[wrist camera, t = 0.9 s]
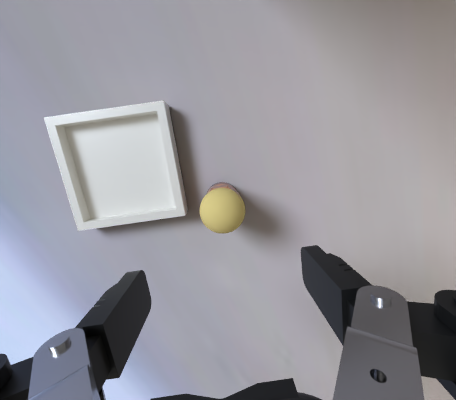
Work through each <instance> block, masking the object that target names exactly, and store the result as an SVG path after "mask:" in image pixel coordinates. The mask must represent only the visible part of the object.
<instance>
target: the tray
mask: <svg viewBox="0 0 456 400" xmlns="http://www.w3.org/2000/svg"><path fill="white" fill-rule="evenodd" d="M44 120H45V123H46V126H47V130H48V133H49V136H50V140H51V143H52V146H53V150H54V153H55V156H56V159H57V163H58V166H59V169H60V173H61V176H62V179H63V183H64V186H65V189H66V192H67V196H68V199H69V202H70V206H71V209H72V212H73V216H74V219H75V222H76V225H77V229H78V231H82V230H89V229H95V228H102V227H109V226H116V225H123V224H130V223H137V222H144V221H151V220H158V219H165V218H172V217H179V216H185V215H186V213H187V212H188V207H187V202H186V196H185V191H184V185H183V180H182V175H181V169H180V164H179V158H178V153H177V148H176V142H175V137H174V132H173V126H172V121H171V115H170V110H169V105H168V104H167V103H166V102H165V101H164V100H163V101H156V102H149V103H142V104H135V105H128V106H121V107H114V108H107V109H100V110H94V111H87V112H80V113H73V114H66V115H59V116H52V117H45V118H44Z"/></svg>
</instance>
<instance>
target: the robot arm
mask: <svg viewBox="0 0 456 400" xmlns="http://www.w3.org/2000/svg"><path fill="white" fill-rule="evenodd" d="M301 261H302V274H303V280H304V284H305V286H306V288H307V290H308V292H309V293H310V295H311V296H312V298H313V299H314V301H315V303H316V304H317V306H318V307H319V309H320V310H321V312H322V314H323V315H324V317H325V318H326V320H327V321H328V323H329V325H330V326H331V328H332V329H333V331H334V332H335V334H336V335H337V337H338V339H339V340H340V342H341V343H342V345H343V350H342V355H341V360H340V365H339V371H338V376H337V381H336V386H335V391H334V396H333V400H424V394H423V387H422V380H421V376H425V377H431V378H436V379H437V380H438V381H439V382H440V383H441V384H442V385H443V386H444V388H445V389H446V390H447V391H448V392H449V393H450V394H451V395H452V397H453V398H454V399H455V400H456V290H442V291H439V292H437V293H436V294H435V299H434V304H430V303H417V302H407V301H406V299H405V298H404V297H403V296H402V295H400V294H399V293H397V292H395V291H394V290H391V289H389V288H386V287H382V286H374V285H371V284H370V283H369V282H368V281H367V280H365V279H364V278H363V277H362V276H361V275H360V274H359V273H357V272H356V271H355V270H353V268H352V267H350V266H349V265H347V263H346V262H345V261H343V260H342V259H341V258H340V257H337V256H335V255H333V254H331V253H329V254H326V253H325V252H324V251H323V250H322V249H321V248H320V247H319V246H317V245H315V246H308V247H302V248H301ZM150 309H151V296H150V292H149V288H148V284H147V280H146V275H145V273H144V271H143V270H140V271H133V272H127V273H126V274H125V275H124V276H123V277H122V278H121V280H120V281H119V282H118V283H117V284H115V285H114V286H113V287H111V288H110V289H108V290H107V291H106V292H105V293H104V294H103V295H102V297H101V298H100V300H99V301H97V303H96V304H95V305H94V307H92V308H91V310H90V311H89V312H88V313H87V314H86V316H85V317H84V318H83V319H82V320H81V321H80V323H79V324H78V325H77V326H76V327H75V328H73V329H69V330H66V331H63V332H61V333H59V334H57V335H55V336H54V337H52V338H51V339H49V340H48V341H47V342H45V343H44V344H43V345H42V346H41V347H40V348H39V349H38V350H37V352H36V353H35V355H34V357H32V358H29V359H26V360H24V361H21V362H18V363H15V364H13V365H10V362H9V360H8V358H7V356H6V355H5V354H0V400H106V398H105V394H104V390H103V387H102V386H103V384H104V382H105V380H107V379H114V378H119V377H120V375H121V373H122V371H123V369H124V366H125V364H126V362H127V360H128V358H129V355H130V353H131V351H132V349H133V347H134V345H135V342H136V340H137V338H138V336H139V334H140V331H141V329H142V327H143V325H144V323H145V321H146V318H147V316H148V314H149V312H150ZM151 400H322V399H319V398H317V397H314V396H312V395H308V394H305V393H299V392H297V390H296V387H295V384H294V381H293V378H290V379H284V380H277V381H270V382H263V383H257V384H255V385H253V386H251V387H248V388H246V389H244V390H242V391H239V392H237V393H235V394H233V395H231V396H228V397H226V398H223V399H216V398H210V397H203V396H197V395H190V394H181V395H174V396H167V397H160V398H153V399H151Z"/></svg>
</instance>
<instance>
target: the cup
mask: <svg viewBox="0 0 456 400" xmlns="http://www.w3.org/2000/svg"><path fill="white" fill-rule="evenodd" d="M217 188H228V189H231V190H233V191H235V192H236V193H238V192H237V190H236V189H235V188H234V187H233V186H232V185H230V184H228V183H224V182H220V183H216V184H214V185H213V186H211V187H210V188H209V190H208V191H207V193H209V192H210V191H212V190H214V189H217ZM238 194H239V193H238ZM239 195H240V194H239ZM240 197H241V196H240Z"/></svg>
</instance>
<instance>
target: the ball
mask: <svg viewBox="0 0 456 400" xmlns="http://www.w3.org/2000/svg"><path fill="white" fill-rule="evenodd" d="M200 217H201V219H202V222H203V223H204V225H205V226H206V227H207V228H208V229H210V230H211V231H213V232H216V233H229V232H232V231H234V230H235V229H237V228H238V227H239V226H240V225H241V223H242V221H243V219H244V217H245V205H244V202H243V200H242V198H241V197H240V195H239V194H238V193H236V192H235V191H233V190H231V189H228V188H217V189H214V190H212V191H210V192H209V193H207V194H206V196H205V197H204V198H203V200H202V202H201V205H200Z"/></svg>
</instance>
